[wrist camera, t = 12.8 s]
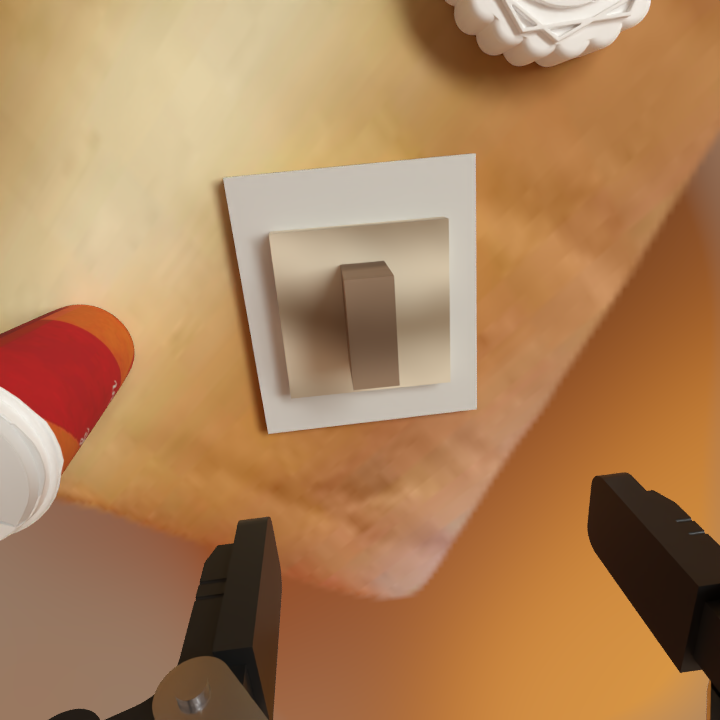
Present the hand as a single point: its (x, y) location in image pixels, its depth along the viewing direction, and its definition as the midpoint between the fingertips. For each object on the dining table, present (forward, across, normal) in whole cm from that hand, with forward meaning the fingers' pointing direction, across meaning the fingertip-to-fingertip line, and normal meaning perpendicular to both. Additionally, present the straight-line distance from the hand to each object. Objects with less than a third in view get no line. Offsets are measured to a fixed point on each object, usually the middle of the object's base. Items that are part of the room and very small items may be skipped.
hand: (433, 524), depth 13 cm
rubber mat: (+21, 0, 0) cm, 21 cm away
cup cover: (+20, 0, 0) cm, 20 cm away
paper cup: (+21, +17, +1) cm, 27 cm away
